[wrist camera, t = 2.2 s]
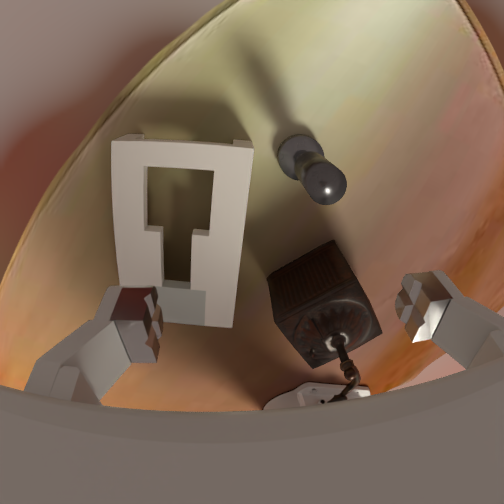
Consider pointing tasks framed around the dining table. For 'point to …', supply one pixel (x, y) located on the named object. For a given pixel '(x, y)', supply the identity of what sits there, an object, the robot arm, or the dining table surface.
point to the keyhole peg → (311, 169)
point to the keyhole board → (203, 241)
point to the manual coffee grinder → (323, 310)
